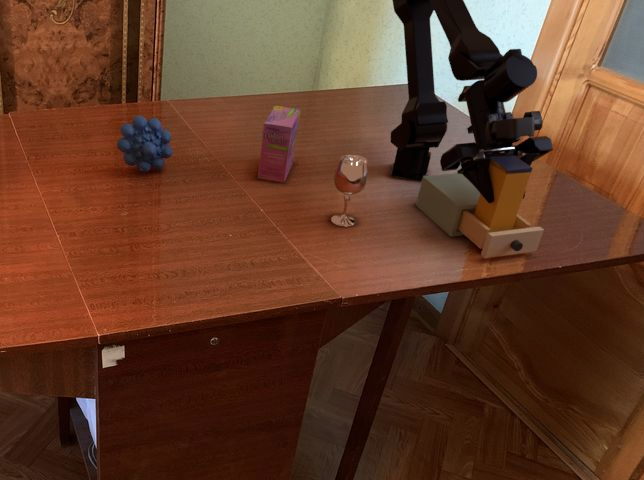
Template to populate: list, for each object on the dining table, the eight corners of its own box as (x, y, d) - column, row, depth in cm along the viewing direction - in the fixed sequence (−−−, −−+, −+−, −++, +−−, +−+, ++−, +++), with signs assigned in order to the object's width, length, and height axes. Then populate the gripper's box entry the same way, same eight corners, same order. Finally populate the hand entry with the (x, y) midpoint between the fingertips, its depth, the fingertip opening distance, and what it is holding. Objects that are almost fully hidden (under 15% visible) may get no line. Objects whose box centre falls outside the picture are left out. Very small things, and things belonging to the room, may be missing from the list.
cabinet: (505, 230, 140) (515, 200, 136) (450, 236, 137) (459, 206, 133) (468, 199, 149) (476, 170, 146) (415, 205, 147) (422, 176, 143)
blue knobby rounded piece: (124, 184, 150) (122, 126, 143) (114, 170, 155) (113, 113, 148) (178, 177, 154) (180, 119, 146) (167, 163, 159) (168, 107, 151)
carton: (486, 239, 133) (507, 170, 125) (470, 226, 136) (490, 158, 128) (509, 236, 134) (532, 167, 126) (493, 223, 137) (515, 155, 129)
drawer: (540, 254, 131) (548, 232, 128) (488, 261, 129) (495, 239, 126) (497, 220, 141) (504, 199, 138) (448, 226, 138) (454, 205, 136)
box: (284, 183, 153) (292, 126, 146) (257, 179, 154) (263, 122, 147) (293, 163, 161) (301, 108, 153) (267, 159, 162) (273, 105, 155)
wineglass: (360, 216, 142) (372, 156, 135) (356, 230, 138) (368, 169, 131) (330, 211, 144) (340, 151, 136) (324, 224, 139) (334, 163, 132)
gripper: (467, 96, 122) (487, 189, 120) (565, 89, 126) (586, 179, 124) (430, 126, 132) (448, 211, 131) (522, 118, 137) (540, 201, 135)
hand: (506, 200), depth 130 cm, fingers open, 6 cm apart
